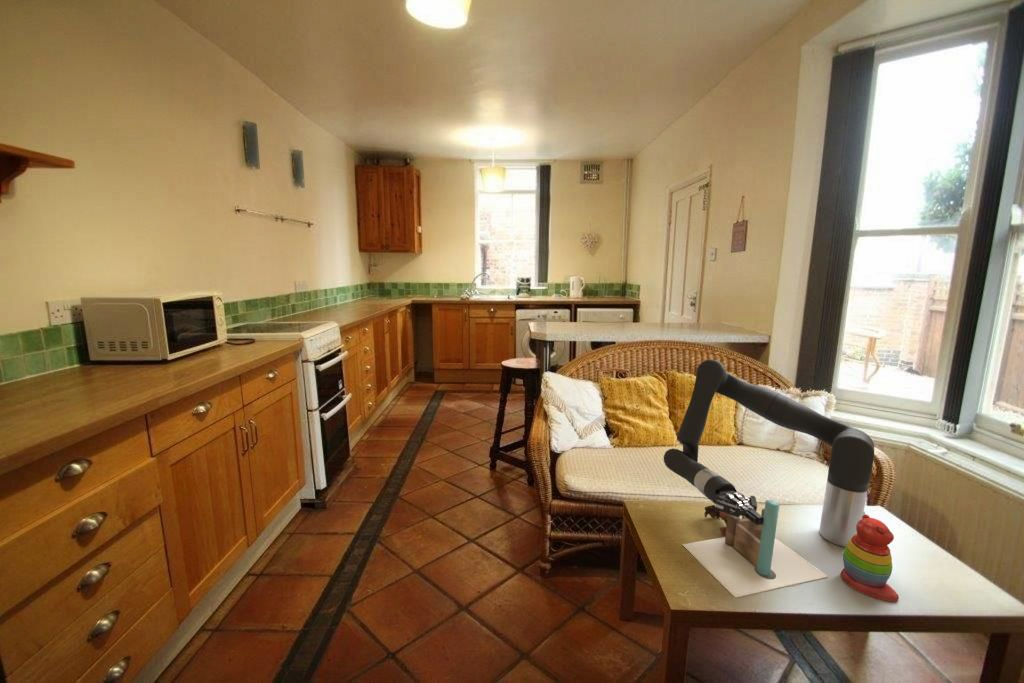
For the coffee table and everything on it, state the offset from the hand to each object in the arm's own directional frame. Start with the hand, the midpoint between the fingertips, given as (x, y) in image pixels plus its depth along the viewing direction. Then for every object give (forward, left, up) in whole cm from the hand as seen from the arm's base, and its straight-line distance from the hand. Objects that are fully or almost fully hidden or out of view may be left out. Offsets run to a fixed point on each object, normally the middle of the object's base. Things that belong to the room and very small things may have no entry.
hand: (761, 521), depth 106 cm
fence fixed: (-9, -11, -15) cm, 20 cm away
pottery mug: (-7, -19, -15) cm, 25 cm away
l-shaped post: (-2, -4, -14) cm, 15 cm away
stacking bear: (-25, +10, -15) cm, 31 cm away
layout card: (-3, -4, -15) cm, 16 cm away
